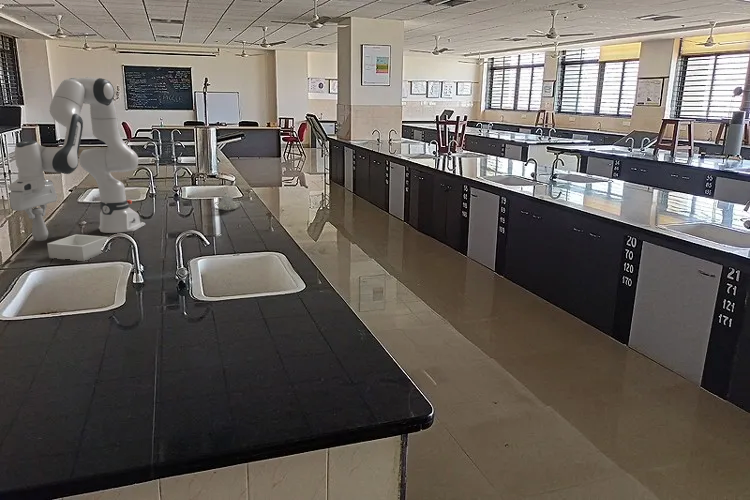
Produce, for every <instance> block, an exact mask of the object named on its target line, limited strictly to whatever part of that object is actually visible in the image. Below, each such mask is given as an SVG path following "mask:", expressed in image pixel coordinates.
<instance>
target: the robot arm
mask: <svg viewBox="0 0 750 500" xmlns="http://www.w3.org/2000/svg"><path fill="white" fill-rule="evenodd" d="M114 97H115V89H114V86H113V84H112V83H111V82H110V80H108V79H105V78H100V77H99V78H97V77H88V76H87V77H79V78H77V77H71V78H66V79H64V80H63V81H62V82H61V83H60V84H59V86H58V87H57V89H56V90H55V92H54V95H53V97H52V99H51V101H50V105H49V114H50V116H51V117H52V119H54V121H56V122H57V123H58V124H60V125H61V126H63V127H65V129H66V130H65V136H64V143H63V145H62V146H61V147H58V148H57V147H46V146H43V145H41V144H40V143H38V142H37V141H36V140H28V139H27V140H23V141H19V142H17V143H16V144H15V147H14V159H15V165H16V167H17V170H18V174H17V177H18V178H17V179H16V180H14V181H13V182H11V183H10V184H9V185H8V191H10V192H9V202H10V208H11V209H12V210H13V211H16V212H21V211H24V212H25V213H26V214H27V215H28V219H29V220H33V219H34V218H35V214H33V213H32V212H31V211H32V209H33V208H38V207H39V208H42V209H43V214H42V216H43V217H45V216H46V215H47V214H46V210H47V208H48V204H53V203H56V202H57V200H58V195H57V192H56V191H57V190H56V188H55V186H54V182H53V181H52V180H50V179H45V174H44V172H49V173H60V174H63V175H64V174H66V175H70V174H72V173H74V171H76V170H77V168H78V166H79V165H80V167H81V168H82V169H83V170H84V171H86V172H87V173H89V174H90V175H91V177H92V178H94V180H95V181H96V184H97V187H98V193H99V198H100V201H99V207H100V210H101V211H100V212H99V226H98V230H99V231H100V232H101V233H104V234H105V233H106V234H108V233H109V234H114V233H115V234H117V233H126V232H127V233H128V232H135V231H137V230H138V229H140V228H142V227H143V226H146V223H145V222H143V221H141V220H140V215H139V213H138V212H136V211H135V210H133V209H132V208H131V207H130V206H129V205H132V203H133V201H132V199H126V198H127V197H126V188H125V187H126V186H125V184H124V183H123V182H122V181H121V180H119V179H116V178H115V177H114V176H113V175H112V173H126V172H127V173H128V172H131V171H132V172H133V171H135V170H136V169H137V168H138V165H139V160H140V159H139V156H138V154H137V153H136V151H134V149H132V148H130V146H128V145H127V144H126V142H125V141H124V140H123V138H122V136H121V133H120V128H119V123H118V121H119V120H118V113H117V108H116V104H115V101H114ZM83 104H85V105H87V104H88V105H89V106H90V107H89V110H90V111H89V112H90V113H89V114H90V122H91V130H92V135H93V136H94V137H95V138H96V139H97V140H99V141H101V142H103V143H104V144H106V146H107V147H106V148H103V147H102V148H99V147H97V148H96V147H95V148H94V147H93V148H88V149H83V150H82V151H81V152H80V147H81V141H82V136H83V129H84V120H83V118H82V117H81V112H82V111H81V110H82V109H83ZM79 152H80V153H79Z"/></svg>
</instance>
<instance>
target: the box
mask: <svg viewBox="0 0 750 500" xmlns="http://www.w3.org/2000/svg"><path fill="white" fill-rule="evenodd" d="M108 238H109V239H110V237H109V236H101V235H90V234H89V235H88V234H77V233H76V234H73V235H69V236H67V237H64V238H59V239H57V240H54V241H51V242H47V243H46V244H47V251H48V259H54V258H57V259H58V260H65V259H70V260H69V261H76V260H77V261H78V262H86V261H87V260H90V258H91V259H93V258H95V257H99V256H100V255H99V254H101V253H103V252H102V251H101V248H102V246H103V244H104V243H105V241H106V240H107V239H108ZM108 249H109V250H110V251H111V245H109V248H108ZM103 254H104V253H103ZM101 255H102V254H101ZM85 260H86V261H85Z"/></svg>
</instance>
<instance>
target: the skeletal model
mask: <svg viewBox="0 0 750 500" xmlns="http://www.w3.org/2000/svg"><path fill="white" fill-rule="evenodd" d="M220 199H221V201H216V202H214V203H213V204H214V206H217V207H218V209H221V210H224V211H227V210H229V211H232V210H234V209H237V208H239V206H240V205H241V206H243V202H242V201H241V200H239V201H238V200H237V201H234V199H233V196H231V195H228V191H224V195H222V196H221V197H220Z"/></svg>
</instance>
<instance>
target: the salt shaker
mask: <svg viewBox="0 0 750 500" xmlns="http://www.w3.org/2000/svg"><path fill="white" fill-rule="evenodd" d="M31 212H32V213H33V214H35V218H34V219H32V228H31V236H32V238H33V239H34V240H35V241H36V242H42V241H47V239H48V237H49V231H48V227H47V224H46V223H45V220H44V216H42V214H43V209H42V208H41V207H33V208H32V211H31Z"/></svg>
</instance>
